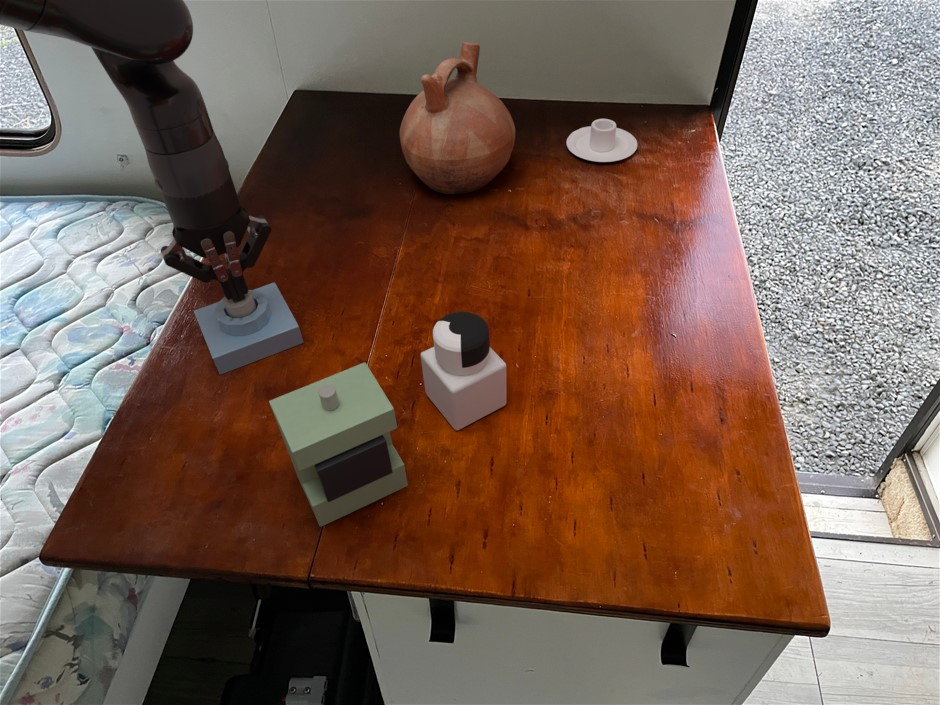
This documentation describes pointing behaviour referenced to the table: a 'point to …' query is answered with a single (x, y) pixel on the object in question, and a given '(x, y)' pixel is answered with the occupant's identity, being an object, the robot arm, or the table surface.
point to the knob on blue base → (249, 330)
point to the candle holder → (602, 142)
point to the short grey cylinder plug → (240, 306)
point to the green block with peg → (338, 435)
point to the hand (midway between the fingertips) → (237, 297)
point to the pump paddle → (354, 468)
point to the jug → (457, 128)
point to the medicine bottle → (463, 370)
